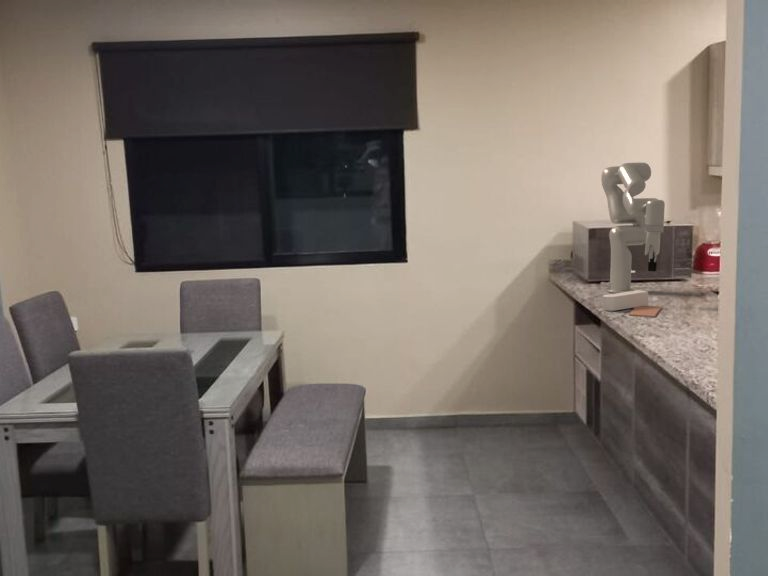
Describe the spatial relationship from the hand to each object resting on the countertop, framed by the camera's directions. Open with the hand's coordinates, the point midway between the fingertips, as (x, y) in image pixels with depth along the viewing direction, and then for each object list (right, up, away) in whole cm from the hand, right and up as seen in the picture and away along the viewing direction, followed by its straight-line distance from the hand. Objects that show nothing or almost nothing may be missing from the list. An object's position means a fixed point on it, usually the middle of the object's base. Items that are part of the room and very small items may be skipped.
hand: (652, 270), depth 327 cm
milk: (-4, -12, -1) cm, 12 cm away
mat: (-7, -17, -13) cm, 23 cm away
